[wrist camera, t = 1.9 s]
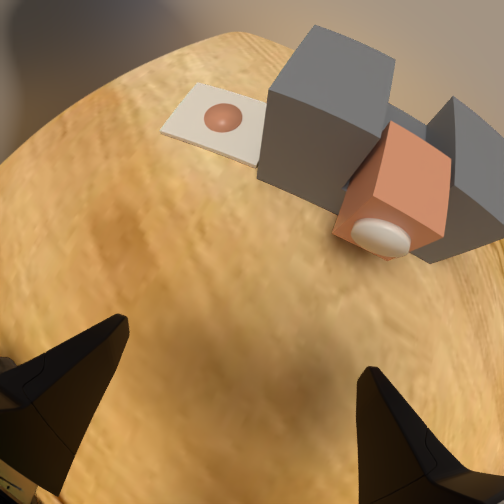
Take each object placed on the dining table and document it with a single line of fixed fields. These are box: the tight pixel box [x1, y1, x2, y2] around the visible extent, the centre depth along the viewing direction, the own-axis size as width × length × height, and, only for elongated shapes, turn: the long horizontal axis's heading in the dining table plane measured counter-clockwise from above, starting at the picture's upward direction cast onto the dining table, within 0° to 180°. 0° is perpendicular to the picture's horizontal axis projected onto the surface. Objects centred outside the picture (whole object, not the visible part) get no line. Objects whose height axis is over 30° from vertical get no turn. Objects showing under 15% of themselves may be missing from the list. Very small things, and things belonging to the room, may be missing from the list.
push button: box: [332, 120, 451, 261], centre depth 17 cm, size 7×5×7 cm
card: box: [159, 82, 267, 169], centre depth 27 cm, size 8×11×1 cm
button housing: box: [257, 25, 504, 264], centre depth 21 cm, size 10×20×12 cm, turn 66°
